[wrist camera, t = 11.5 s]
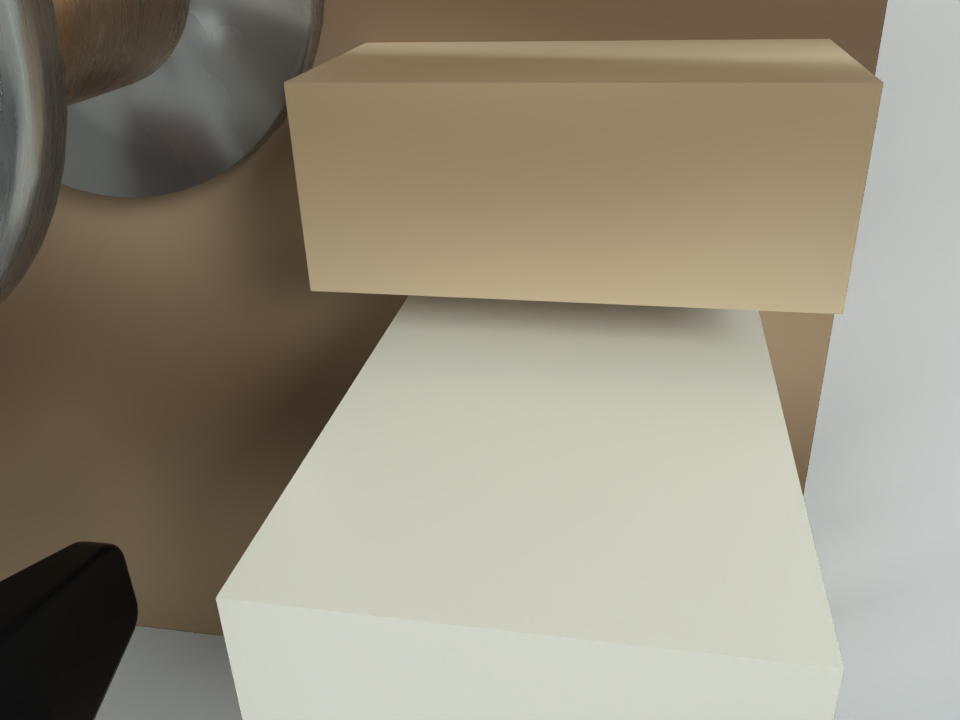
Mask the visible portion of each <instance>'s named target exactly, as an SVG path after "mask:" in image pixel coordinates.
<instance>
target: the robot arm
mask: <svg viewBox="0 0 960 720" xmlns="http://www.w3.org/2000/svg"><path fill="white" fill-rule="evenodd" d="M137 618H138V603H137V599H136V596H135V592H134V589H133V585H132V581H131V578H130V574H129V571H128V567H127V564H126V560H125V557H124V554H123V552H122V551H121V549H120V548H119V547H118V546H116V545H114V544H110V543H100V542H90V541H79V542H75V543H73V544H71V545H69V546H67V547H65V548H63V549H61V550H59V551H57V552H56V553H54V554H52V555H50V556H48V557H46V558H44V559H42V560H40V561H38V562H36V563H34V564H33V565H31V566H29V567H27V568H25V569H23V570H21V571H19V572H17V573H15V574H13V575H11V576H9V577H8V578H6V579H4V580H2V581H0V720H94V719H95V717H96V715H97V713H98V710H99V708H100V706H101V704H102V701H103V699H104V697H105V695H106V693H107V690H108V688H109V686H110V684H111V681H112V679H113V677H114V675H115V672H116V670H117V668H118V666H119V663H120V661H121V659H122V657H123V654H124V652H125V650H126V648H127V645H128V643H129V641H130V639H131V637H132V634H133V632H134V629H135V627H136V623H137Z"/></svg>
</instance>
